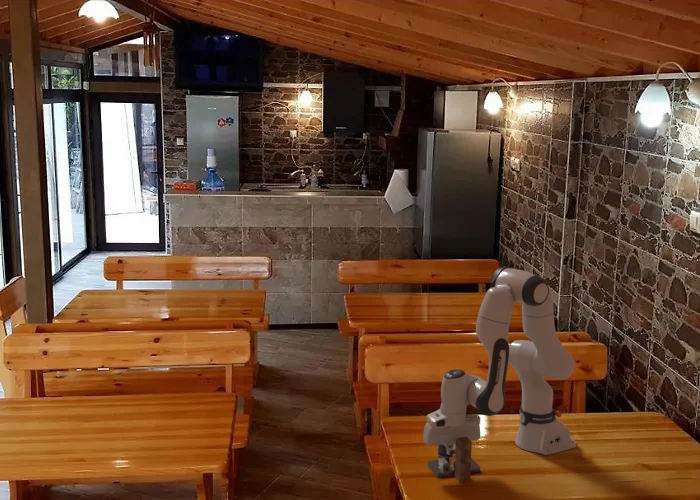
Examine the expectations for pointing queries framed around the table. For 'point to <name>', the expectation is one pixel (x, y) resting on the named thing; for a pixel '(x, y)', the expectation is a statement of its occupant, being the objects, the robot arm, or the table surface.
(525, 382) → the robot arm
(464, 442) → the walnut post
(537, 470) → the table surface
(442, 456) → the pill bottle
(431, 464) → the breaker strip
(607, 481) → the table surface
